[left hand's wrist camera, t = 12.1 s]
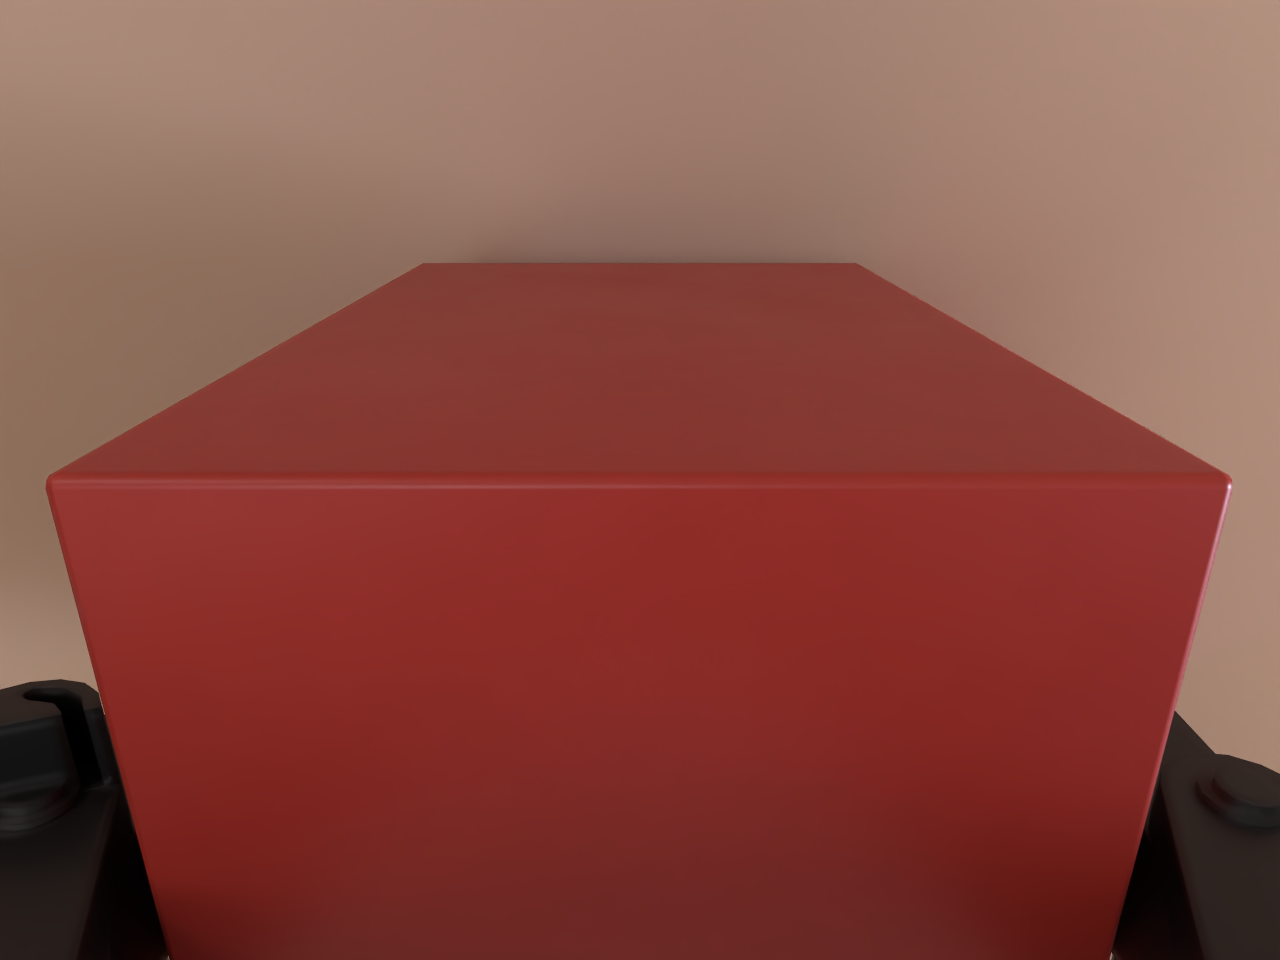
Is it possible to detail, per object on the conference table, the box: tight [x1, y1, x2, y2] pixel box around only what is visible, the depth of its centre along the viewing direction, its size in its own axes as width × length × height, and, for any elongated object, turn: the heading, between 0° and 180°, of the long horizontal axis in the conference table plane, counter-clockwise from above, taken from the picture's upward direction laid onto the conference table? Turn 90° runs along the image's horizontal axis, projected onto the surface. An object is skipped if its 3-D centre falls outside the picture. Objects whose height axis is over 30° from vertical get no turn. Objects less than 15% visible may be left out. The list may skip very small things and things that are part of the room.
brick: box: [46, 263, 1233, 960], centre depth 11 cm, size 7×8×10 cm
